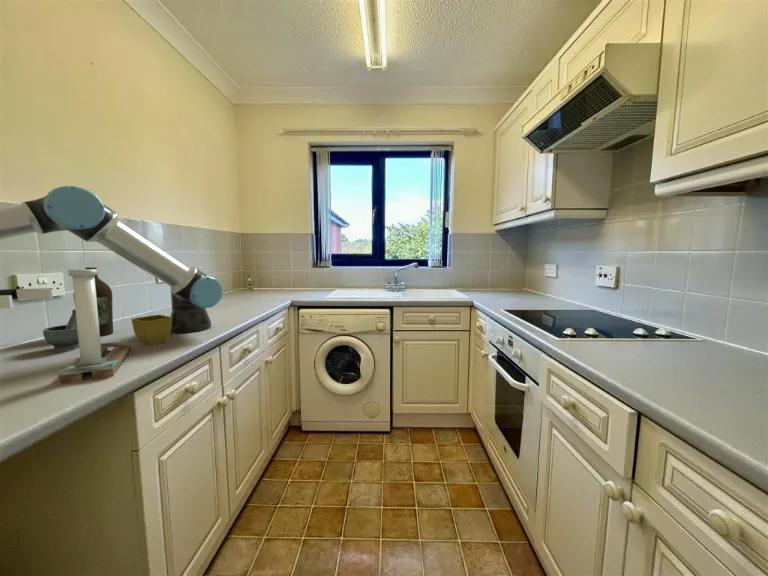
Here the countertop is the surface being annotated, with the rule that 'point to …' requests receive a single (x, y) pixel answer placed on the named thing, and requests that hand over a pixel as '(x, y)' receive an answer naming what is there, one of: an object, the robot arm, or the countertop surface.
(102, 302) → the olive oil
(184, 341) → the countertop surface
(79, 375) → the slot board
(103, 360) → the slider
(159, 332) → the flower pot
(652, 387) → the countertop surface
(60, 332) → the mortar and pestle
